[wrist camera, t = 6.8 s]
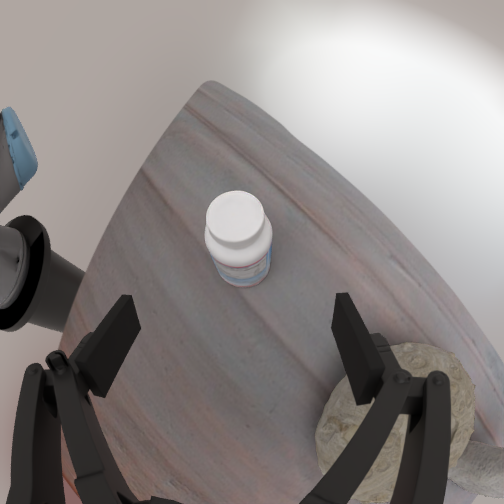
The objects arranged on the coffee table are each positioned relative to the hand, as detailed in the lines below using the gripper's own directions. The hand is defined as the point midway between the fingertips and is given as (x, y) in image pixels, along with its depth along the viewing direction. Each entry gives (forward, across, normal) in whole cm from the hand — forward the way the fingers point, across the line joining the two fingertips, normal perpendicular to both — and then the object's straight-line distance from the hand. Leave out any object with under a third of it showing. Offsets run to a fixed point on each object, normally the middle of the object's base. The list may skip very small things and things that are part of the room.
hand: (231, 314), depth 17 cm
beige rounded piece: (+1, +16, -17) cm, 23 cm away
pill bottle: (+15, 0, -3) cm, 15 cm away
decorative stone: (-7, +30, -26) cm, 40 cm away
